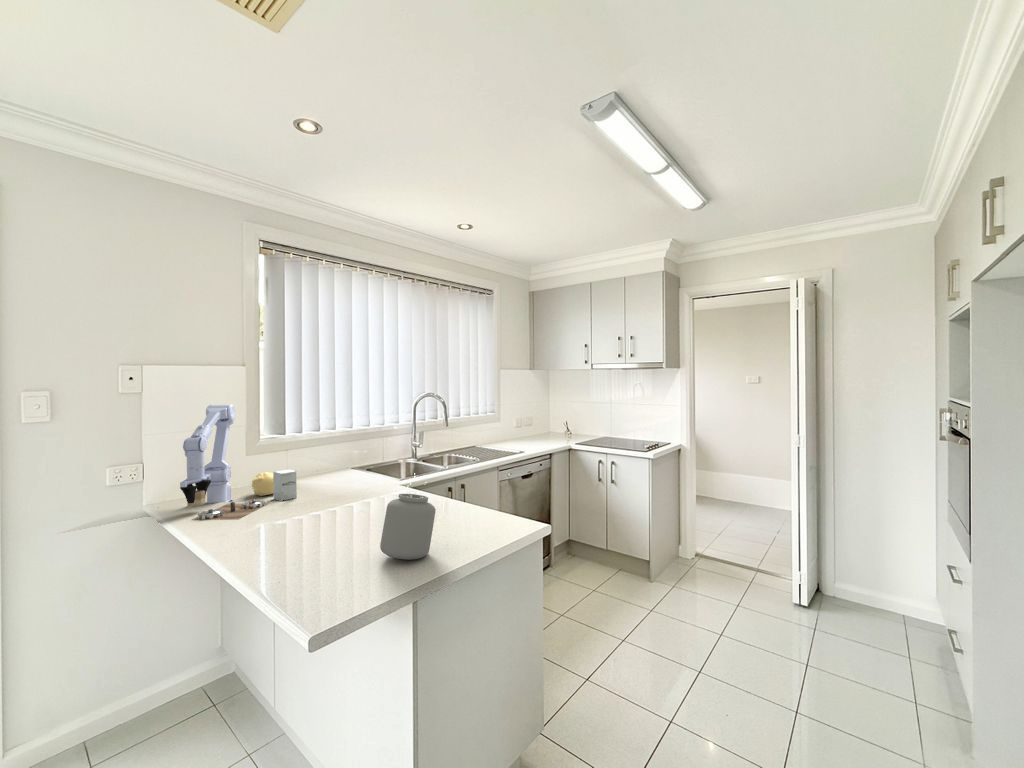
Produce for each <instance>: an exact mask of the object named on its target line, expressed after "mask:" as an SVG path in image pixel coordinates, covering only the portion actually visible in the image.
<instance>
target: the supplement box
mask: <svg viewBox="0 0 1024 768" xmlns="http://www.w3.org/2000/svg"><path fill="white" fill-rule="evenodd" d="M272 473H273V490H274V494H273V500H275V499H276V501H278V500H279V502H283V500H284V501H288V500H291V499H292V498H293V499H297V498H296V497H298V496H297V493H298V492H297V470H293V469H284V470H276V471H273V472H272ZM293 499H292V500H293Z"/></svg>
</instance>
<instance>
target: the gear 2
mask: <svg viewBox="0 0 1024 768" xmlns="http://www.w3.org/2000/svg"><path fill="white" fill-rule="evenodd" d="M265 503H266V502H265V500H263V499H262V500H260V499H257V500H256V499H251V500H249V501H245V502H244V503H243V502H242V503H241V504H242V509H245V508H246V509H250V508H253V509H255V508H257V507H262V506H264V505H265ZM264 507H265V506H264ZM262 508H263V507H262Z"/></svg>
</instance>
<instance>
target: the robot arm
mask: <svg viewBox="0 0 1024 768" xmlns="http://www.w3.org/2000/svg"><path fill="white" fill-rule="evenodd" d="M205 415H206V416H205V418H204V420H203V423H202V424H200V425H198V426H197V427H196V429H194V432H193V433H192V434H191V436H190V437H187V438H186V439H184V441H183V444H182V449H183V451H184V456H185V457H186V479H185V480H183V481H181V482H179V489H180V490H181V492H182V493H183V494H184V496H185V500H186V503H187V502H188V503H194V500H195V492H196V490H204V491H205V496H206V503H207V504H217V503H228V502H227V501H229V500H231V499H232V486H231V484H230V483H229V482H230V481H231V478H232V467H231V465H230V464H229V463H228V462H226V454H227V447H228V441H229V434H230V426H231V425H233V424H234V421H235V417H236V409H235V406H234V405H233V404H231V403H230V404H208V406H207V407H206V409H205ZM214 426H215V427H216V430H215V435H214V443H213V449H212V455H211V456H212V457H211V461H210V462H208V463H207V464H206V465H205V451H206V450H207V446H208V444H209V438H210V436H212V434H213V429H212V428H213V427H214ZM194 484H195V485H194Z"/></svg>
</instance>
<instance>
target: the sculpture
mask: <svg viewBox="0 0 1024 768" xmlns="http://www.w3.org/2000/svg"><path fill="white" fill-rule="evenodd" d="M251 487H252V492H253V493H254V494H256V495H257V496H258V497H262V496H269V495H274V490H273V472H270V471H265V472H259V473H258V474H257V475H256V476H255V477H254V479H253V480H252V481H251Z"/></svg>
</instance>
